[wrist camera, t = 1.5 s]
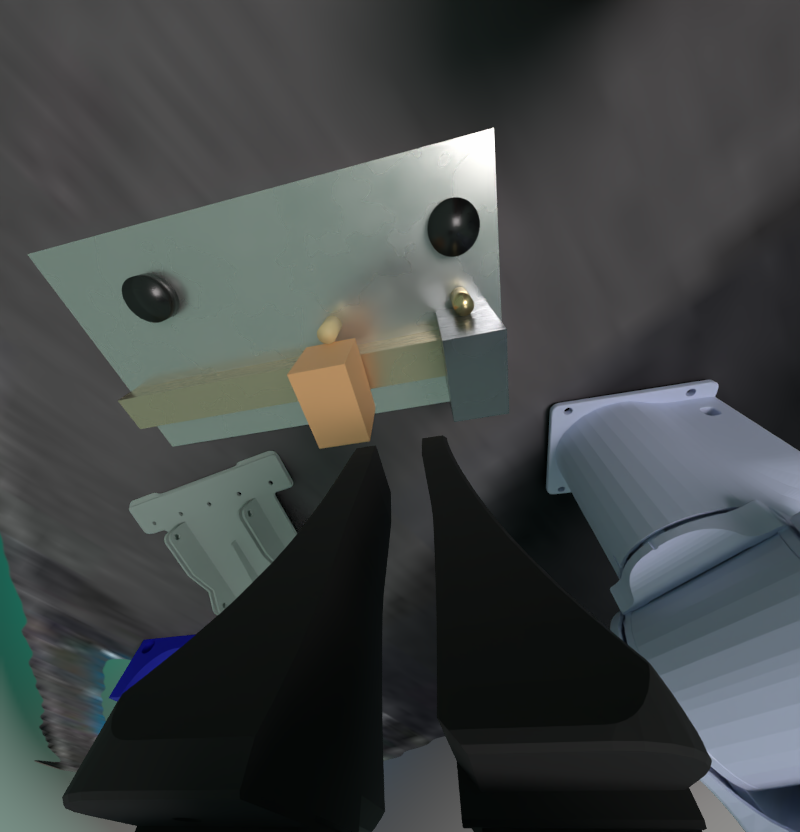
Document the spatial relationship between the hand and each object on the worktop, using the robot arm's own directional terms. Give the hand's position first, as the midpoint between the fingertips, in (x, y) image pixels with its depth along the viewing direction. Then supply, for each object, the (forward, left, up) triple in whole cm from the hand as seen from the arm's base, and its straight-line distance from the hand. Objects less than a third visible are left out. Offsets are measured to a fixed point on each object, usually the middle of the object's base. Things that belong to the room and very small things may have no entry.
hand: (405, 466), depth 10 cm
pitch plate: (+6, -2, -10) cm, 12 cm away
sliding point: (+3, 0, -9) cm, 9 cm away
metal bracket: (+17, +14, -11) cm, 25 cm away
